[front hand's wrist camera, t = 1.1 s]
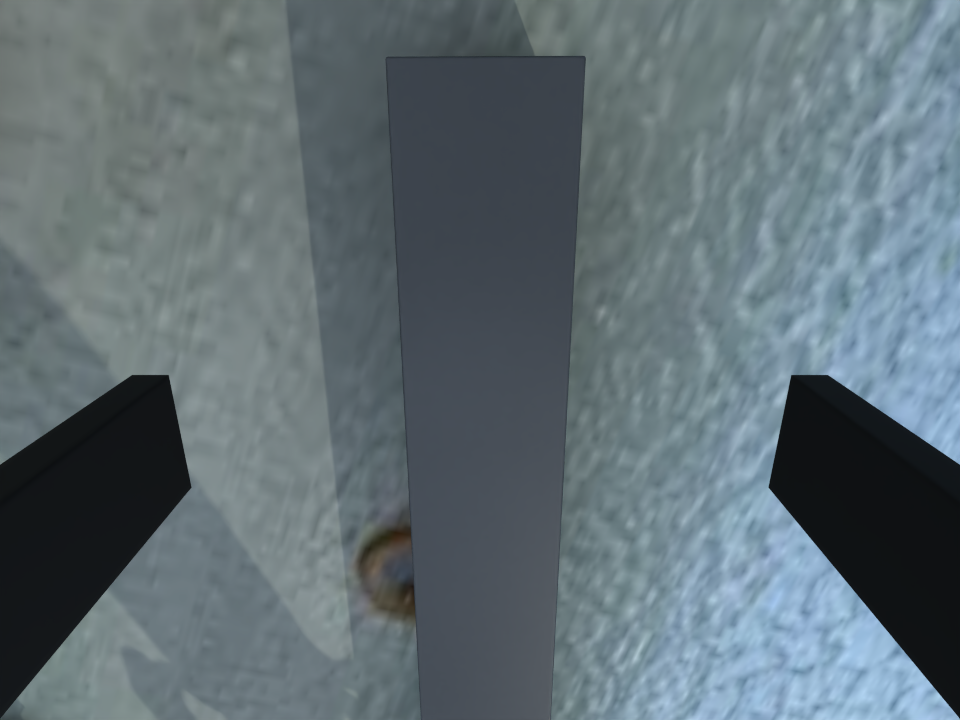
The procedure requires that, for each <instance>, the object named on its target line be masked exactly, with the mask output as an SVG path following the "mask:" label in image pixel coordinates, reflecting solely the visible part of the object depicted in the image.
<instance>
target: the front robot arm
mask: <svg viewBox="0 0 960 720" xmlns="http://www.w3.org/2000/svg"><path fill="white" fill-rule="evenodd" d="M190 489H191V483H190V478H189V473H188V468H187V463H186V458H185V454H184V449H183V444H182V439H181V434H180V429H179V424H178V419H177V414H176V409H175V404H174V399H173V395H172V390H171V385H170V380H169V375H132V376H130V377H129V378H127V379H126V380H124V381H123V382H121V383H120V384H118V385H117V386H115V387H114V388H113V389H111V390H110V391H108V392H107V393H105V394H104V395H102V396H101V397H99V398H98V399H96V400H95V401H93V402H92V403H90V404H89V405H88V406H86V407H85V408H83V409H82V410H80V411H79V412H77V413H76V414H74V415H73V416H71V417H70V418H68V419H67V420H65V421H64V422H62V423H61V424H60V425H58V426H57V427H55V428H54V429H52V430H51V431H49V432H48V433H46V434H45V435H43V436H42V437H40V438H39V439H37V440H36V441H35V442H33V443H32V444H30V445H29V446H27V447H26V448H24V449H23V450H21V451H20V452H18V453H17V454H15V455H14V456H12V457H11V458H9V459H8V460H7V461H5V462H4V463H2V464H1V465H0V718H1V717H2V716H3V714H4V713H5V712H6V711H7V710H8V708H9V707H10V706H11V705H12V704H13V702H14V701H15V700H16V699H17V697H18V696H19V695H20V694H21V693H22V691H23V690H24V689H25V688H26V687H27V685H28V684H29V683H30V682H31V681H32V679H33V678H34V677H35V676H36V675H37V673H38V672H39V671H40V670H41V669H42V667H43V666H44V665H45V664H46V662H47V661H48V660H49V659H50V658H51V656H52V655H53V654H54V653H55V652H56V650H57V649H58V648H59V647H60V646H61V644H62V643H63V642H64V641H65V640H66V638H67V637H68V636H69V635H70V633H71V632H72V631H73V630H74V629H75V627H76V626H77V625H78V624H79V623H80V621H81V620H82V619H83V618H84V617H85V615H86V614H87V613H88V612H89V611H90V609H91V608H92V607H93V606H94V604H95V603H96V602H97V601H98V600H99V598H100V597H101V596H102V595H103V594H104V592H105V591H106V590H107V589H108V588H109V586H110V585H111V584H112V583H113V582H114V580H115V579H116V578H117V577H118V576H119V574H120V573H121V572H122V571H123V569H124V568H125V567H126V566H127V565H128V563H129V562H130V561H131V560H132V559H133V557H134V556H135V555H136V554H137V553H138V551H139V550H140V549H141V548H142V547H143V545H144V544H145V543H146V542H147V540H148V539H149V538H150V537H151V536H152V534H153V533H154V532H155V531H156V530H157V528H158V527H159V526H160V525H161V524H162V522H163V521H164V520H165V519H166V518H167V516H168V515H169V514H170V513H171V511H172V510H173V509H174V508H175V507H176V505H177V504H178V503H179V502H180V501H181V499H182V498H183V497H184V496H185V495H186V493H187V492H188V491H189V490H190ZM769 489H770V490H771V491H772V492H773V493H774V495H775V496H776V497H777V498H778V499H779V501H780V502H781V503H782V504H783V505H784V507H785V508H786V509H787V510H788V511H789V513H790V514H791V515H792V516H793V518H794V519H795V520H796V521H797V522H798V524H799V525H800V526H801V527H802V528H803V530H804V531H805V532H806V533H807V534H808V536H809V537H810V538H811V539H812V540H813V542H814V543H815V544H816V545H817V547H818V548H819V549H820V550H821V551H822V553H823V554H824V555H825V556H826V557H827V559H828V560H829V561H830V562H831V563H832V565H833V566H834V567H835V568H836V569H837V571H838V572H839V573H840V574H841V576H842V577H843V578H844V579H845V580H846V582H847V583H848V584H849V585H850V586H851V588H852V589H853V590H854V591H855V592H856V594H857V595H858V596H859V597H860V598H861V600H862V601H863V602H864V603H865V604H866V606H867V607H868V608H869V609H870V611H871V612H872V613H873V614H874V615H875V617H876V618H877V619H878V620H879V621H880V623H881V624H882V625H883V626H884V627H885V629H886V630H887V631H888V632H889V633H890V635H891V636H892V637H893V638H894V640H895V641H896V642H897V643H898V644H899V646H900V647H901V648H902V649H903V650H904V652H905V653H906V654H907V655H908V656H909V658H910V659H911V660H912V661H913V662H914V664H915V665H916V666H917V667H918V669H919V670H920V671H921V672H922V673H923V675H924V676H925V677H926V678H927V679H928V681H929V682H930V683H931V684H932V685H933V687H934V688H935V689H936V690H937V691H938V693H939V694H940V695H941V696H942V697H943V699H944V700H945V701H946V702H947V704H948V705H949V706H950V707H951V708H952V710H953V711H954V712H955V713H956V714H957V716H958V717H959V718H960V465H959V464H958V463H956V462H955V461H953V460H952V459H951V458H949V457H948V456H946V455H945V454H943V453H942V452H940V451H939V450H937V449H936V448H934V447H933V446H931V445H930V444H928V443H927V442H925V441H924V440H923V439H921V438H920V437H918V436H917V435H915V434H914V433H912V432H911V431H909V430H908V429H906V428H905V427H903V426H902V425H900V424H899V423H898V422H896V421H895V420H893V419H892V418H890V417H889V416H887V415H886V414H884V413H883V412H881V411H880V410H878V409H877V408H875V407H874V406H872V405H871V404H870V403H868V402H867V401H865V400H864V399H862V398H861V397H859V396H858V395H856V394H855V393H853V392H852V391H850V390H849V389H847V388H846V387H845V386H843V385H842V384H840V383H839V382H837V381H836V380H834V379H833V378H831V377H830V376H828V375H791V380H790V385H789V390H788V395H787V399H786V404H785V409H784V414H783V419H782V424H781V429H780V434H779V439H778V444H777V449H776V454H775V458H774V463H773V468H772V473H771V478H770V483H769Z"/></svg>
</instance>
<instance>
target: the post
mask: <svg viewBox="0 0 960 720" xmlns="http://www.w3.org/2000/svg"><path fill="white" fill-rule="evenodd" d="M585 61H586V58H585V56H459V57H386V75H387V94H388V112H389V131H390V149H391V168H392V187H393V205H394V224H395V242H396V261H397V279H398V298H399V317H400V335H401V354H402V372H403V391H404V410H405V428H406V447H407V465H408V484H409V502H410V521H411V540H412V558H413V577H414V595H415V614H416V633H417V651H418V670H419V688H420V707H421V720H551V703H552V684H553V665H554V646H555V627H556V608H557V589H558V571H559V552H560V533H561V514H562V495H563V476H564V457H565V439H566V420H567V401H568V382H569V363H570V344H571V325H572V307H573V288H574V269H575V250H576V231H577V212H578V193H579V175H580V156H581V137H582V118H583V99H584V80H585Z"/></svg>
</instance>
